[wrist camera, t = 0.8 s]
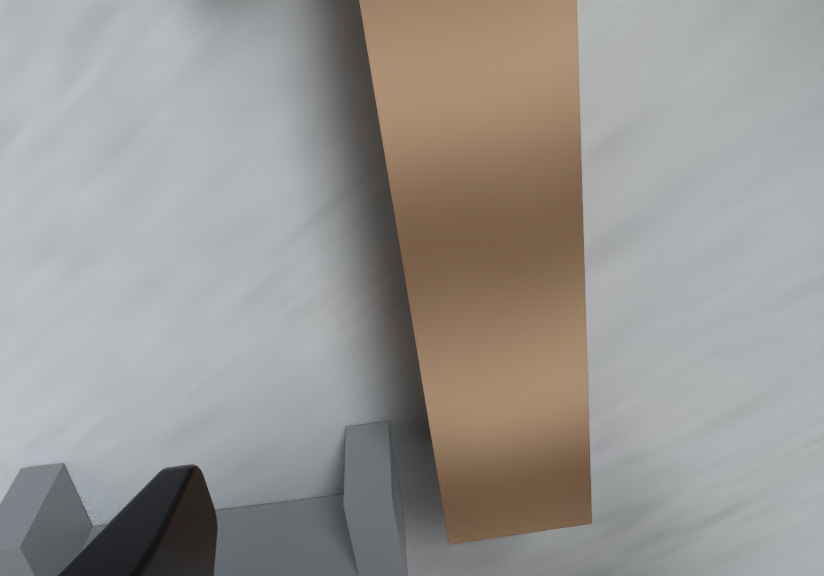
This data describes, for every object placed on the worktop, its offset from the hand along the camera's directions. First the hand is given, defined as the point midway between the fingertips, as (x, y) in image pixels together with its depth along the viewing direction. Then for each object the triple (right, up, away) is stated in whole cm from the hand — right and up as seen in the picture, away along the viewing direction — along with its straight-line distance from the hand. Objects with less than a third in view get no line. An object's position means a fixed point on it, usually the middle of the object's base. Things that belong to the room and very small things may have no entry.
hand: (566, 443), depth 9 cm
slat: (-1, +5, +8) cm, 10 cm away
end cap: (-8, -4, +12) cm, 15 cm away
